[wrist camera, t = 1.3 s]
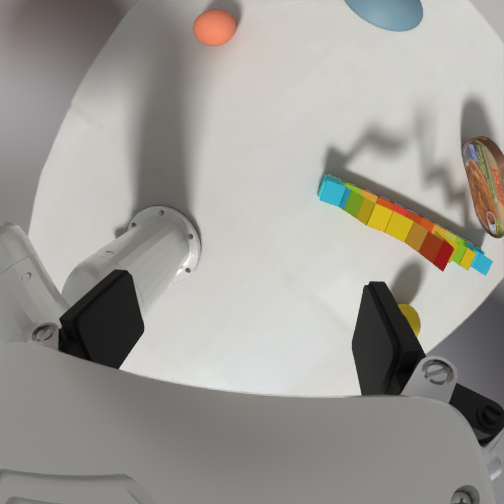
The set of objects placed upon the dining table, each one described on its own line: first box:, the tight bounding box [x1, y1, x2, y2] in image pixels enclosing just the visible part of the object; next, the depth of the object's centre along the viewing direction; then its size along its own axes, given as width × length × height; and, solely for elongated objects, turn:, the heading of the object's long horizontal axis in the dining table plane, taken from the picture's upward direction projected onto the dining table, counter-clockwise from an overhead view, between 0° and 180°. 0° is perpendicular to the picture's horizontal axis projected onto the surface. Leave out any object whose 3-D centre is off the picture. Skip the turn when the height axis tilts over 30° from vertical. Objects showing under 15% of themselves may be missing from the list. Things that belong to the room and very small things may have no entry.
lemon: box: [398, 304, 420, 337], centre depth 37 cm, size 6×6×8 cm
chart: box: [317, 174, 493, 276], centre depth 29 cm, size 30×3×15 cm, turn 73°
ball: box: [193, 9, 236, 46], centre depth 26 cm, size 6×6×6 cm
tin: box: [462, 136, 504, 238], centre depth 27 cm, size 15×3×8 cm, turn 28°
